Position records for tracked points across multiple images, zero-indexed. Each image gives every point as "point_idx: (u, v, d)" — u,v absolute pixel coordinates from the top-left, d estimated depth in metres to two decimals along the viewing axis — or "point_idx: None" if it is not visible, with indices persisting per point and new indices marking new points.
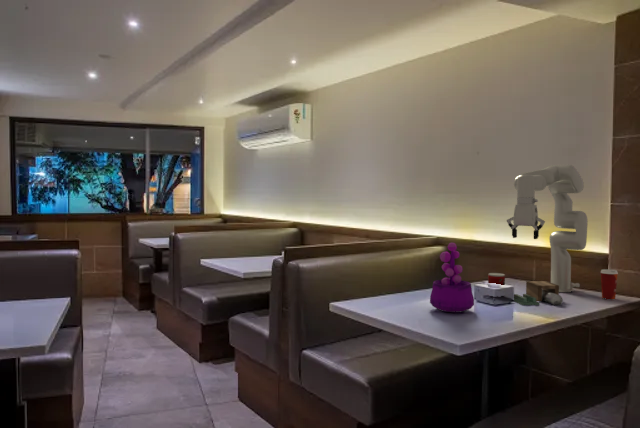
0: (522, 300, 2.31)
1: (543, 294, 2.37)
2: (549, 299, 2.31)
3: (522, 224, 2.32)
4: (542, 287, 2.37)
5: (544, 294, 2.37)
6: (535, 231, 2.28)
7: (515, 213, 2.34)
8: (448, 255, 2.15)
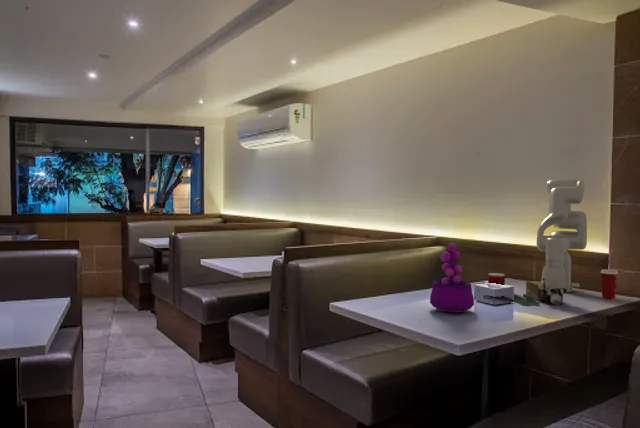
0: (522, 300, 2.31)
1: (543, 294, 2.37)
2: None
3: (555, 287, 2.30)
4: None
5: (544, 294, 2.37)
6: (561, 296, 2.31)
7: (548, 276, 2.29)
8: (448, 255, 2.15)
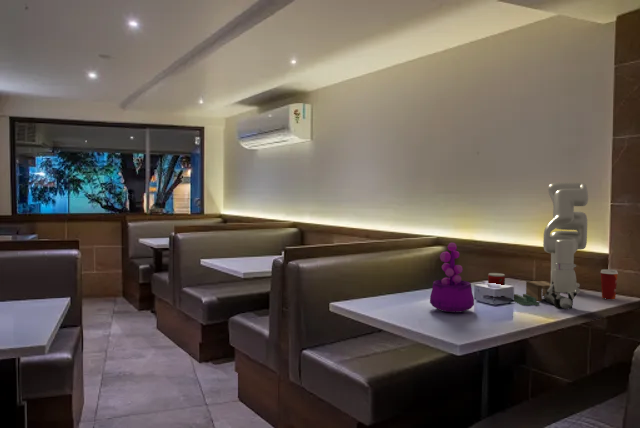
0: (522, 300, 2.31)
1: (552, 297, 2.29)
2: None
3: (564, 291, 2.22)
4: (542, 287, 2.37)
5: (552, 297, 2.29)
6: (571, 300, 2.23)
7: (558, 280, 2.21)
8: (448, 255, 2.15)
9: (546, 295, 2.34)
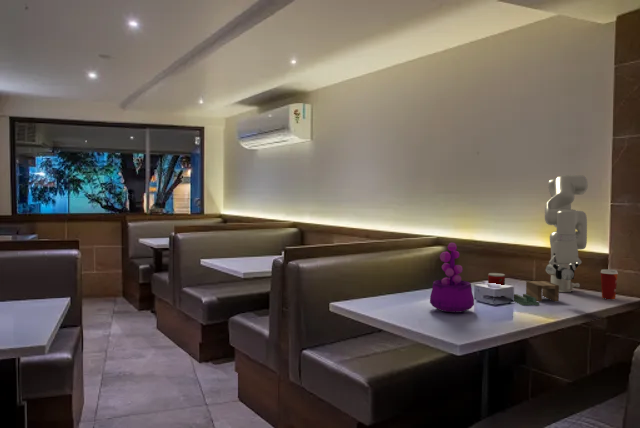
0: (522, 300, 2.31)
1: (553, 269, 2.28)
2: None
3: (566, 262, 2.21)
4: (542, 287, 2.37)
5: (554, 269, 2.28)
6: (573, 271, 2.22)
7: (559, 251, 2.20)
8: (448, 255, 2.15)
9: (547, 267, 2.33)
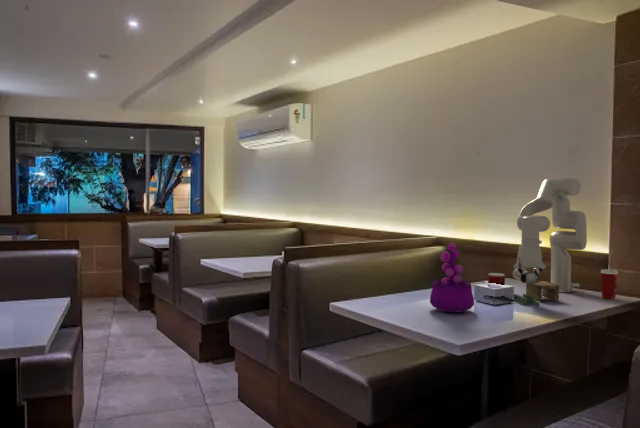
0: (522, 300, 2.31)
1: (519, 273, 2.36)
2: None
3: (530, 266, 2.28)
4: (542, 287, 2.37)
5: (520, 273, 2.35)
6: (537, 275, 2.29)
7: (524, 255, 2.28)
8: (448, 255, 2.15)
9: (514, 272, 2.41)
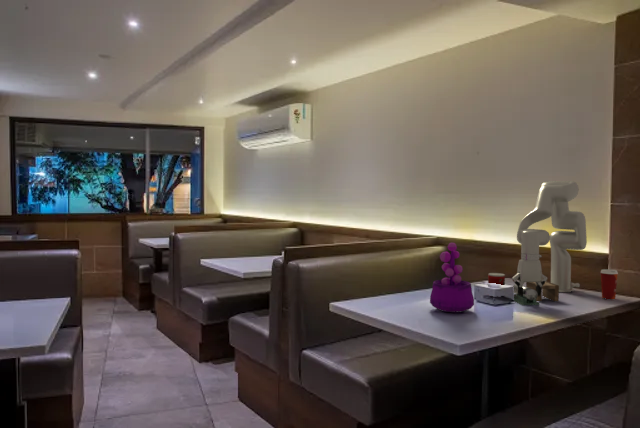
0: (522, 300, 2.31)
1: None
2: (524, 294, 2.30)
3: (530, 280, 2.28)
4: (542, 287, 2.37)
5: None
6: None
7: (523, 270, 2.28)
8: (448, 255, 2.15)
9: (514, 288, 2.41)
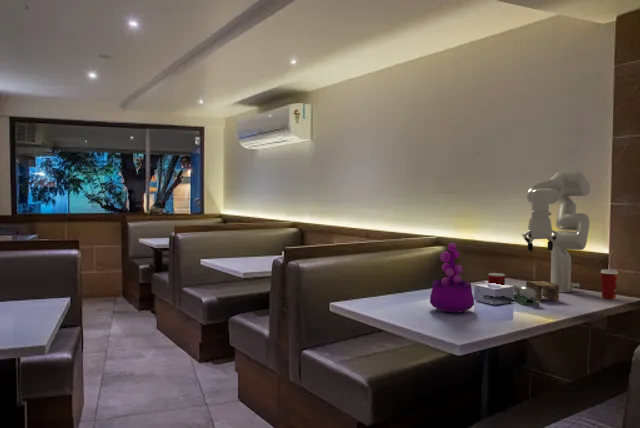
0: (522, 300, 2.31)
1: (519, 289, 2.36)
2: (524, 294, 2.30)
3: (541, 237, 2.39)
4: (542, 287, 2.37)
5: (519, 289, 2.36)
6: (551, 243, 2.40)
7: (534, 227, 2.38)
8: (448, 255, 2.15)
9: (514, 288, 2.41)
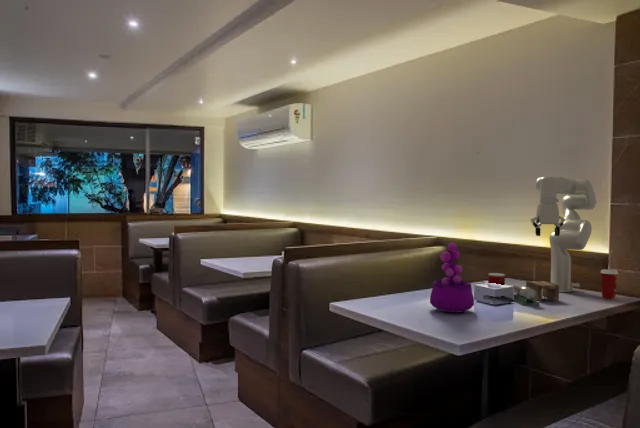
0: (522, 300, 2.31)
1: (519, 289, 2.36)
2: (524, 294, 2.30)
3: (548, 223, 2.47)
4: (542, 287, 2.37)
5: (519, 289, 2.36)
6: (558, 228, 2.48)
7: (542, 212, 2.46)
8: (448, 255, 2.15)
9: (514, 288, 2.41)
